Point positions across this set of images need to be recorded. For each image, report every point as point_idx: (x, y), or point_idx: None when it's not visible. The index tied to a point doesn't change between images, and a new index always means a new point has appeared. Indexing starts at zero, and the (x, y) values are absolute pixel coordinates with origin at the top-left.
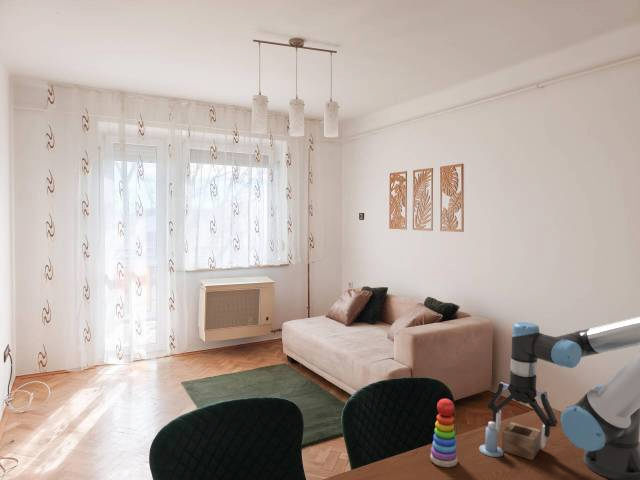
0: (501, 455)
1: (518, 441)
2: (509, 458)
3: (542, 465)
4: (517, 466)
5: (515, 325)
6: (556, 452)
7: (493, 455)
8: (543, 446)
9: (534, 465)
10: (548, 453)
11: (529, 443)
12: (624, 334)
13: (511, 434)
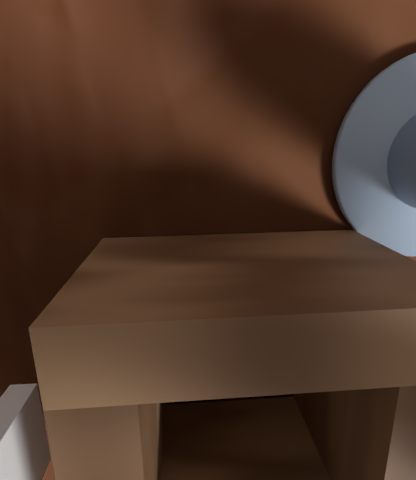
0: (337, 135)
1: (243, 281)
2: (267, 135)
3: (7, 204)
4: (168, 28)
5: None
6: None
7: (402, 59)
8: (3, 393)
9: (58, 157)
10: None
11: (103, 297)
12: None
13: (366, 311)
